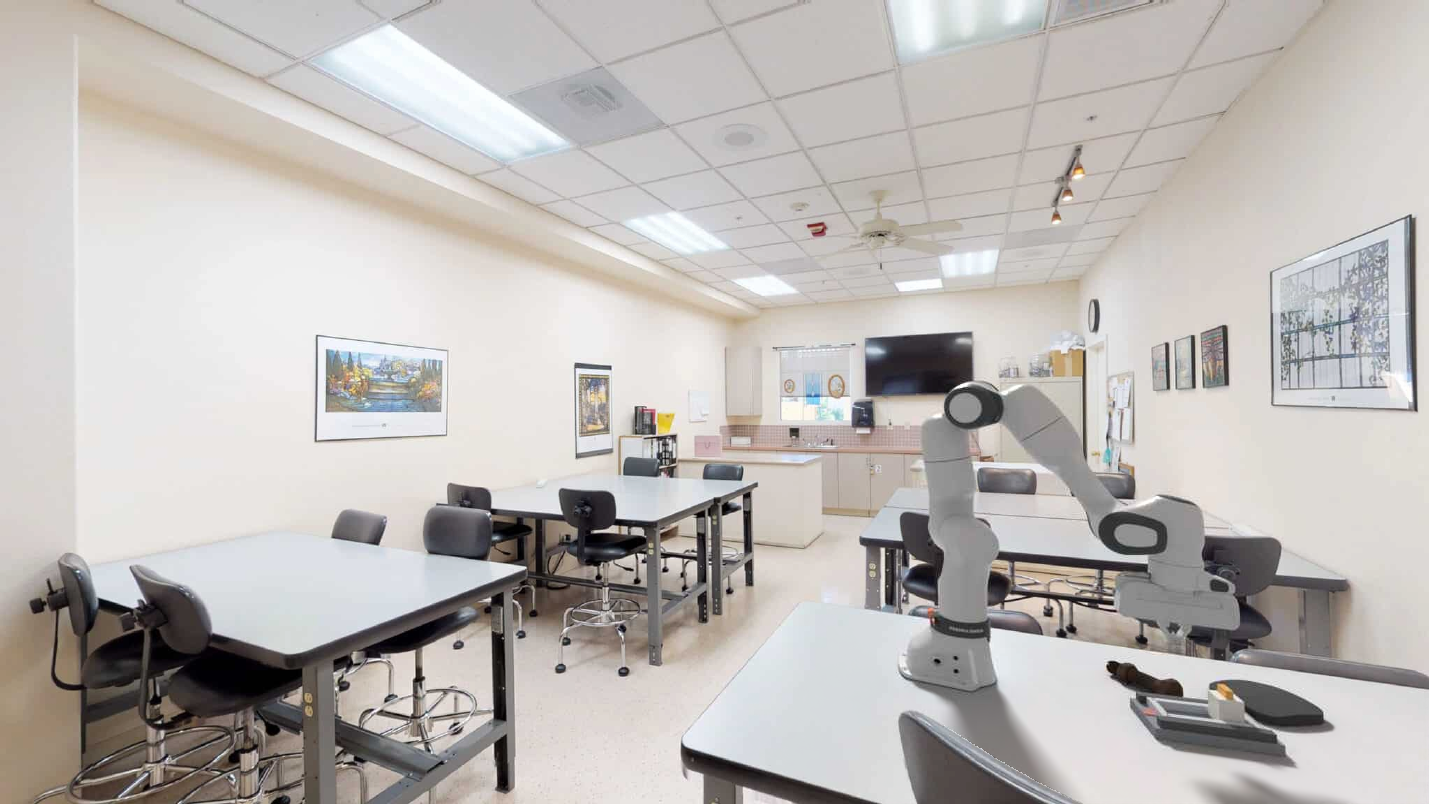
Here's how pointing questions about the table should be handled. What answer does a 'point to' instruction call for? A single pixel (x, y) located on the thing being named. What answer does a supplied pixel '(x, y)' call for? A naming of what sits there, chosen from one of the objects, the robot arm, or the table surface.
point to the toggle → (1225, 705)
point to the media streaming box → (1273, 704)
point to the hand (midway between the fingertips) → (1173, 643)
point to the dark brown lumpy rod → (1144, 679)
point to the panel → (1203, 737)
